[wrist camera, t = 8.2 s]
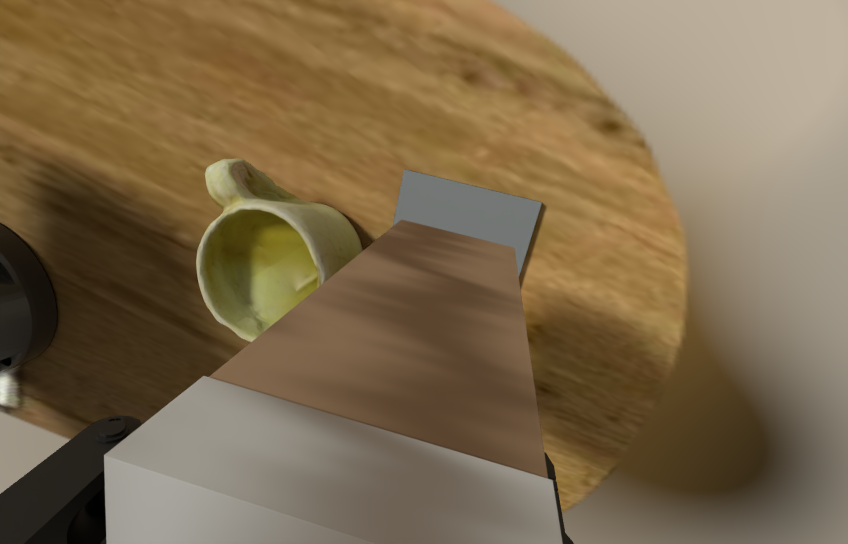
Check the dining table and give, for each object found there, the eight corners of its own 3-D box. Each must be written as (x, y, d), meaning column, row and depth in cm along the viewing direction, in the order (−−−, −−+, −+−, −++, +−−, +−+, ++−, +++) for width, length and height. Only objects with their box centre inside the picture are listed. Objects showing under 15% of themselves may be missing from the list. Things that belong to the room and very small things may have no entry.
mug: (399, 315, 33) (303, 354, 24) (302, 319, 38) (194, 352, 29) (376, 152, 32) (267, 132, 23) (279, 178, 37) (161, 170, 28)
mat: (375, 316, 35) (374, 318, 35) (405, 169, 31) (404, 169, 31) (496, 349, 34) (496, 351, 34) (541, 201, 30) (541, 202, 30)
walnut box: (370, 366, 25) (114, 820, 8) (401, 218, 23) (103, 455, 6) (471, 395, 25) (413, 941, 8) (515, 247, 22) (573, 607, 5)
